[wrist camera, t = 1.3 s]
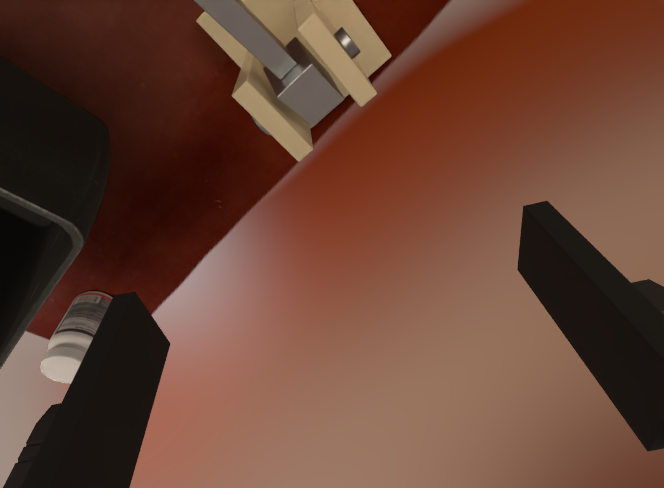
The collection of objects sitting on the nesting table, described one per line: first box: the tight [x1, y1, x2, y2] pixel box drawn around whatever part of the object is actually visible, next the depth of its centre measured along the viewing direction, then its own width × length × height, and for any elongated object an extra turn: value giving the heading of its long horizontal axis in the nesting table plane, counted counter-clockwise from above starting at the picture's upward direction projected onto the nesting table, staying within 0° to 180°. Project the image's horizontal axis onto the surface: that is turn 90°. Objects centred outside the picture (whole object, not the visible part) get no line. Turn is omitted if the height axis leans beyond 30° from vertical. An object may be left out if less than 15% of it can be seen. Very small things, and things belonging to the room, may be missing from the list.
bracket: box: [196, 0, 391, 162], centre depth 25 cm, size 11×9×15 cm
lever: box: [193, 0, 344, 127], centre depth 16 cm, size 13×6×2 cm, turn 41°
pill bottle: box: [40, 291, 113, 384], centre depth 41 cm, size 5×5×8 cm
